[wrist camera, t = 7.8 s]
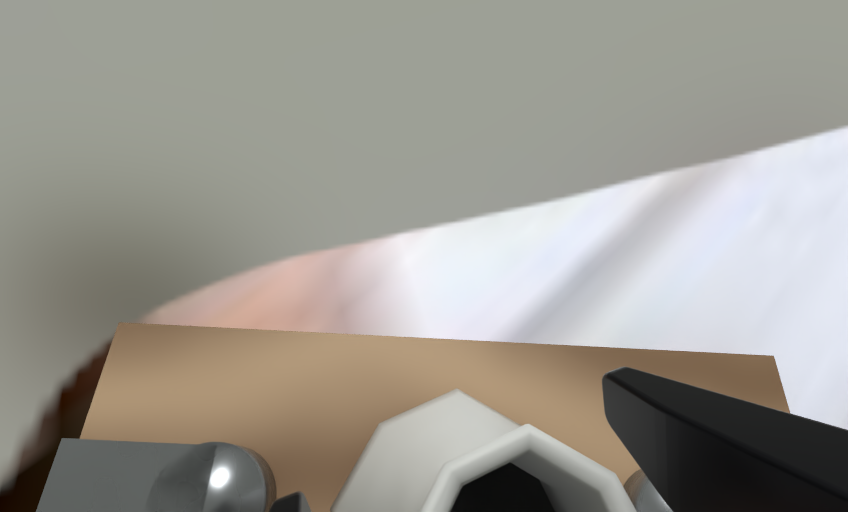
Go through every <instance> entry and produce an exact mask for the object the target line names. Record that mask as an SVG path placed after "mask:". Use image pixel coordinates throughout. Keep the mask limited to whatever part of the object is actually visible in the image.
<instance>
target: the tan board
mask: <svg viewBox="0 0 848 512" xmlns="http://www.w3.org/2000/svg"><path fill="white" fill-rule="evenodd" d="M620 367H630V368H634V369H637V370H641V371H644V372H648V373H651V374H654V375H658V376H661V377H665V378H668V379H672V380H675V381H679V382H682V383H686V384H689V385H693V386H696V387H700V388H703V389H707V390H710V391H714V392H717V393H721V394H724V395H728V396H731V397H735V398H738V399H742V400H745V401H748V402H752V403H755V404H759V405H762V406H766V407H769V408H773V409H776V410H780V411H783V412H787V413H790V411H789V407H788V404H787V400H786V397H785V394H784V390H783V387H782V383H781V380H780V376H779V373H778V369H777V366H776V362H775V359H774V356H766V355H746V354H727V353H707V352H688V351H668V350H648V349H629V348H609V347H590V346H570V345H551V344H531V343H511V342H492V341H472V340H453V339H433V338H414V337H394V336H375V335H355V334H335V333H316V332H296V331H277V330H257V329H238V328H218V327H198V326H179V325H159V324H140V323H118V326H117V329H116V332H115V335H114V338H113V341H112V344H111V347H110V350H109V353H108V356H107V359H106V362H105V365H104V368H103V371H102V374H101V377H100V380H99V383H98V386H97V389H96V392H95V395H94V398H93V400H92V403H91V406H90V409H89V412H88V415H87V418H86V421H85V424H84V427H83V430H82V433H81V436H80V439H90V440H112V441H134V442H156V443H178V444H202V443H206V442H225V443H230V444H234V445H239V446H243V447H247V448H249V449H252V450H254V451H255V452H257V453H258V454H260V455H261V456H262V457H263V458H264V459H265V460H266V461H267V463H268V464H269V466H270V468H271V470H272V472H273V474H274V478H275V482H276V491H277V496H276V499H278V498H280V497H283V496H285V495H288V494H291V493H293V492H296V491H301V492H303V494H304V495H305V497H306V499H307V502H308V504H309V507H310V509H311V511H312V512H330V507H331V506H332V504H333V502H334V501H335V499H336V497H337V495H338V494H339V492H340V490H341V488H342V487H343V485H344V483H345V481H346V480H347V478H348V476H349V475H350V473H351V471H352V469H353V468H354V466H355V464H356V462H357V461H358V459H359V457H360V455H361V454H362V452H363V450H364V449H365V447H366V445H367V443H368V442H369V440H370V438H371V436H372V435H373V433H374V431H375V429H376V428H377V426H378V424H379V423H381V422H383V421H385V420H387V419H390V418H392V417H394V416H396V415H399V414H401V413H403V412H405V411H408V410H410V409H412V408H414V407H416V406H419V405H421V404H423V403H425V402H428V401H430V400H432V399H434V398H436V397H439V396H441V395H443V394H445V393H448V392H450V391H452V390H454V389H456V388H457V389H459V390H461V391H463V392H464V393H466V394H468V395H469V396H471V397H473V398H475V399H476V400H478V401H480V402H482V403H483V404H485V405H487V406H489V407H490V408H492V409H494V410H495V411H497V412H499V413H501V414H502V415H504V416H506V417H508V418H509V419H511V420H513V421H514V422H516V423H518V424H520V425H521V426H523V425H525V424H530V425H532V426H534V427H536V428H537V429H539V430H541V431H542V432H544V433H546V434H548V435H549V436H551V437H553V438H555V439H556V440H558V441H560V442H562V443H563V444H565V445H567V446H569V447H570V448H572V449H574V450H575V451H577V452H579V453H581V454H582V455H584V456H586V457H588V458H589V459H591V460H593V461H595V462H596V463H598V464H600V465H602V466H603V467H605V468H607V469H609V470H610V471H612V472H614V473H615V474H616V475H617V477H618V478H619V480H620V482H621V484H622V486H624V484H625V482H626V481H627V479H628V478H629V477H630V476H631V475H632V474H633V473H634V472H636V471H637V470H639V469H641V468H640V467H639V465H638V464H637V463H636V461H635V460H634V458H633V457H632V456H631V454H630V453H629V452H628V450H627V449H626V447H625V446H624V445H623V443H622V442H621V440H620V439H619V438H618V436H617V435H616V433H615V432H614V431H613V429H612V428H611V426H610V425H609V423H608V421H607V419H606V416H605V412H604V402H603V391H602V377H603V375H604V374H605V373H607V372H609V371H612V370H615V369H617V368H620Z"/></svg>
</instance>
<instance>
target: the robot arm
mask: <svg viewBox="0 0 848 512" xmlns="http://www.w3.org/2000/svg"><path fill="white" fill-rule="evenodd" d="M602 391H603V402H604V412H605V416H606V419H607V421H608V423H609V425H610V426H611V428H612V429H613V431H614V432H615V433H616V435H617V436H618V438H619V439H620V440H621V442H622V443H623V445H624V446H625V447H626V449H627V450H628V452H629V453H630V454H631V456H632V457H633V458H634V460H635V461H636V463H637V464H638V465H639V467H640V468H641V470H642V471H643V472H644V474H645V475H646V477H647V478H648V479H649V481H650V482H651V483H652V485H653V486H654V488H655V489H656V490H657V492H658V493H659V494H660V496H661V497H662V498H663V500H664V501H665V502H666V504H667V505H668V506H669V507H670V509H671V510H672V511H673V512H848V430H846V429H842V428H839V427H836V426H832V425H829V424H825V423H822V422H818V421H815V420H811V419H808V418H804V417H801V416H797V415H794V414H790V413H787V412H783V411H780V410H776V409H773V408H769V407H766V406H762V405H759V404H755V403H752V402H748V401H745V400H742V399H738V398H735V397H731V396H728V395H724V394H721V393H717V392H714V391H710V390H707V389H703V388H700V387H696V386H693V385H689V384H686V383H682V382H679V381H675V380H672V379H668V378H665V377H661V376H658V375H654V374H651V373H648V372H644V371H641V370H637V369H634V368H630V367H620V368H617V369H615V370H612V371H609V372H607V373H605V374H604V375H603V377H602ZM268 512H312V511H311V509H310V507H309V504H308V502H307V499H306V497H305V495H304V494H303V492H301V491H296V492H293V493H291V494H288V495H285V496H283V497H280V498H278V499H276V500H275V501H274V502H273V503H272V505H271V507H270V509H269V511H268Z"/></svg>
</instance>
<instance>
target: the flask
mask: <svg viewBox="0 0 848 512" xmlns="http://www.w3.org/2000/svg"><path fill="white" fill-rule="evenodd" d="M330 512H637V511H636V509H635V507H634V506H633V504H632V502H631V500H630V498H629V497H628V495H627V493H626V491H625V489H624V488H623V486H622V484H621V482H620V480H619V478H618V477H617V475H616V474H615V473H614V472H612V471H610V470H609V469H607V468H605V467H603V466H602V465H600V464H598V463H596V462H595V461H593V460H591V459H589V458H588V457H586V456H584V455H582V454H581V453H579V452H577V451H575V450H574V449H572V448H570V447H569V446H567V445H565V444H563V443H562V442H560V441H558V440H556V439H555V438H553V437H551V436H549V435H548V434H546V433H544V432H542V431H541V430H539V429H537V428H536V427H534V426H532V425H530V424H525V425H523V426H521V425H520V424H518V423H516V422H514V421H513V420H511V419H509V418H508V417H506V416H504V415H502V414H501V413H499V412H497V411H495V410H494V409H492V408H490V407H489V406H487V405H485V404H483V403H482V402H480V401H478V400H476V399H475V398H473V397H471V396H469V395H468V394H466V393H464V392H463V391H461V390H459V389H457V388H456V389H454V390H452V391H450V392H448V393H445V394H443V395H441V396H439V397H436V398H434V399H432V400H430V401H428V402H425V403H423V404H421V405H419V406H416V407H414V408H412V409H410V410H408V411H405V412H403V413H401V414H399V415H396V416H394V417H392V418H390V419H387V420H385V421H383V422H381V423H379V424H378V426H377V428H376V429H375V431H374V433H373V435H372V436H371V438H370V440H369V442H368V443H367V445H366V447H365V449H364V450H363V452H362V454H361V455H360V457H359V459H358V461H357V462H356V464H355V466H354V468H353V469H352V471H351V473H350V475H349V476H348V478H347V480H346V481H345V483H344V485H343V487H342V488H341V490H340V492H339V494H338V495H337V497H336V499H335V501H334V502H333V504H332V506H331V507H330Z"/></svg>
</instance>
